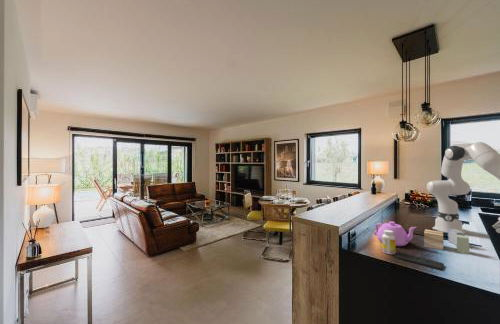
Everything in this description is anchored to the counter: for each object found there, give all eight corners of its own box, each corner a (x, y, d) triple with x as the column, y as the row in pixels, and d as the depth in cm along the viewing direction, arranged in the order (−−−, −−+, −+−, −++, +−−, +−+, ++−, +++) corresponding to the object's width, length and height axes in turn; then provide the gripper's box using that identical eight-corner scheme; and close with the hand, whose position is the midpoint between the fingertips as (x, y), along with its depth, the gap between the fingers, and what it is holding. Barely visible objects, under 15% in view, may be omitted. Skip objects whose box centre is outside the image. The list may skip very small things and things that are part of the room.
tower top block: (425, 236, 143) (425, 229, 143) (443, 239, 137) (443, 232, 137) (424, 239, 136) (424, 232, 136) (443, 243, 130) (443, 235, 130)
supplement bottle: (396, 252, 128) (396, 230, 128) (394, 256, 123) (394, 233, 123) (383, 249, 132) (383, 228, 132) (381, 252, 127) (380, 231, 127)
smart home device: (441, 268, 106) (394, 255, 120) (441, 271, 106) (394, 258, 120) (443, 262, 111) (398, 251, 126) (443, 266, 111) (398, 254, 126)
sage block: (456, 249, 131) (456, 234, 131) (468, 251, 128) (467, 236, 128) (457, 251, 127) (456, 236, 127) (469, 254, 124) (468, 238, 124)
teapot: (368, 240, 148) (368, 220, 148) (379, 235, 159) (378, 216, 159) (413, 252, 128) (412, 229, 128) (421, 244, 139) (421, 223, 139)
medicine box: (465, 246, 135) (465, 232, 135) (457, 246, 136) (456, 232, 136) (456, 242, 143) (455, 229, 143) (448, 241, 144) (447, 228, 144)
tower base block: (425, 242, 143) (424, 236, 143) (443, 246, 137) (443, 239, 137) (424, 246, 136) (424, 239, 136) (443, 250, 130) (443, 243, 130)
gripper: (511, 206, 122) (486, 221, 128) (521, 213, 107) (492, 229, 113) (523, 215, 119) (497, 229, 125) (536, 223, 104) (505, 239, 110)
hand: (495, 229), depth 119 cm, fingers open, 8 cm apart
